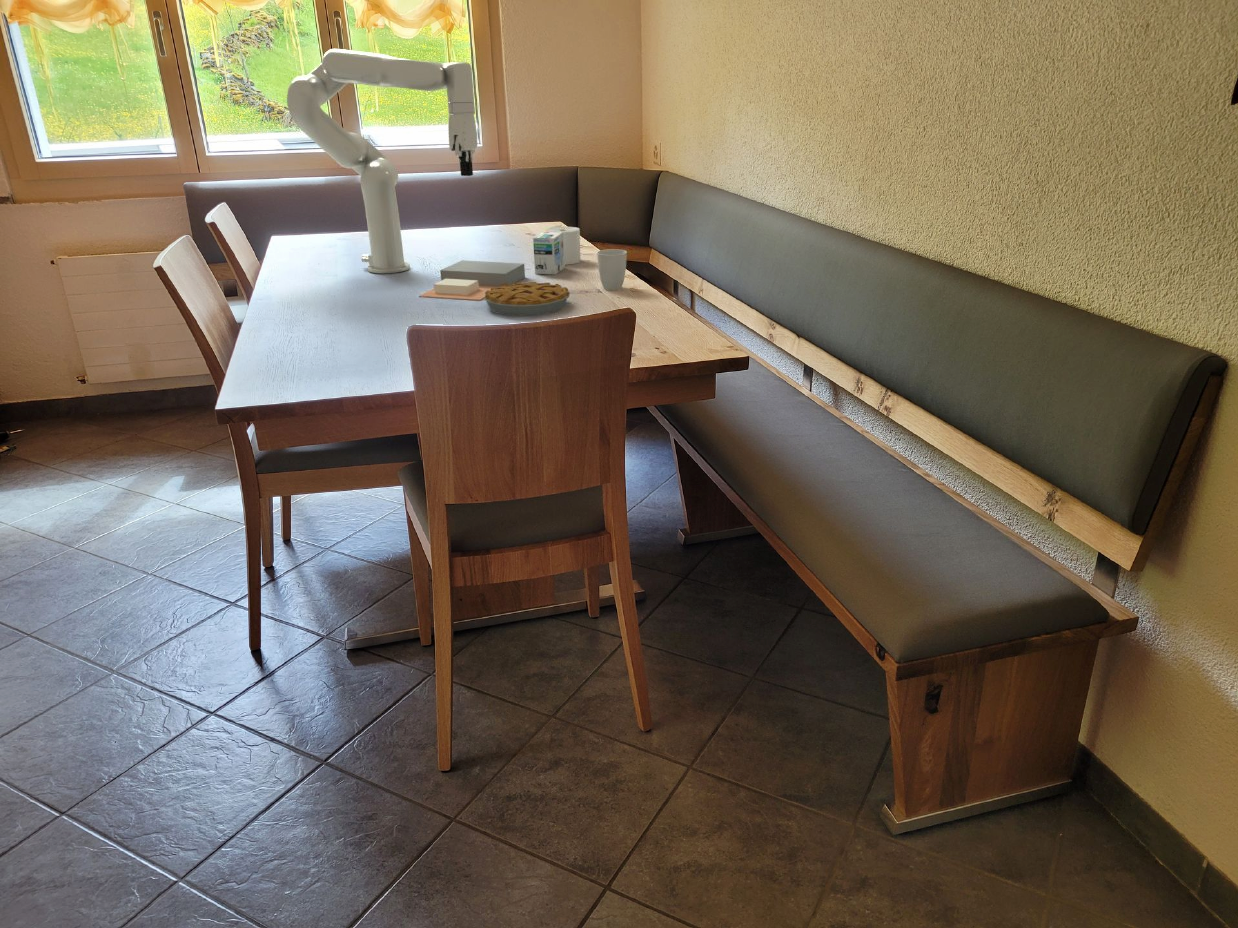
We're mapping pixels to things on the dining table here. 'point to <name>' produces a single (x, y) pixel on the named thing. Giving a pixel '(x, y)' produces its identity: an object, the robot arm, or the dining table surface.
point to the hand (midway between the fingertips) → (467, 175)
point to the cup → (612, 268)
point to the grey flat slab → (485, 272)
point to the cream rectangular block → (456, 286)
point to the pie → (526, 298)
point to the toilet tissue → (569, 243)
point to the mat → (475, 295)
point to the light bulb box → (548, 253)
